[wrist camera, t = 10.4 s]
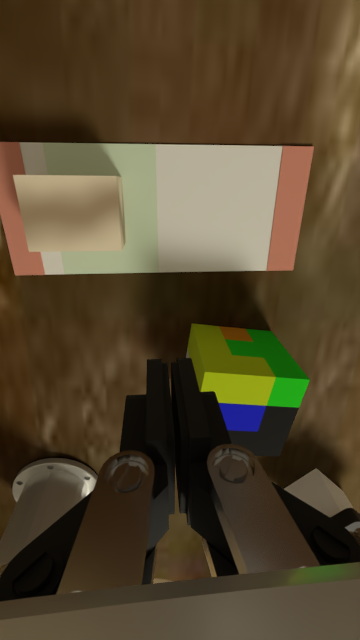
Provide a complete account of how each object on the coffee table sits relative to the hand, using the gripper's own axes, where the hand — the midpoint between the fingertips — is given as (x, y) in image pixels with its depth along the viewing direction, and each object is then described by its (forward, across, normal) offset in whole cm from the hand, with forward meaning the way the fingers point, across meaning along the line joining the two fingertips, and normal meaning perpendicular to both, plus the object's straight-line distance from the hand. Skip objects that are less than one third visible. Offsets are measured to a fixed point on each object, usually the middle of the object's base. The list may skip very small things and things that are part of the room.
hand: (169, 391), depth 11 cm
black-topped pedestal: (+24, -26, +40) cm, 53 cm away
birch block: (+22, +7, -5) cm, 24 cm away
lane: (+22, 0, -5) cm, 23 cm away
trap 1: (+22, -14, -5) cm, 26 cm away
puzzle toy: (+23, -8, +13) cm, 27 cm away
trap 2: (+22, +13, -5) cm, 26 cm away
